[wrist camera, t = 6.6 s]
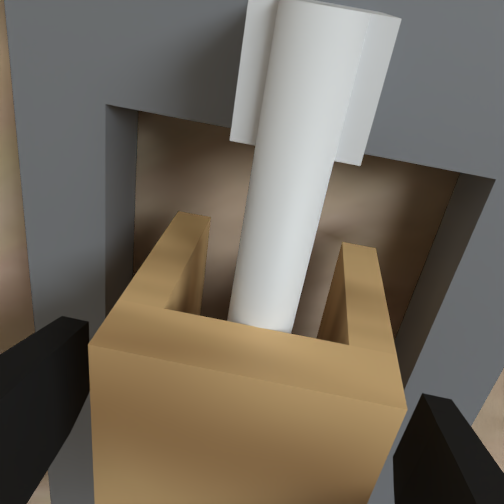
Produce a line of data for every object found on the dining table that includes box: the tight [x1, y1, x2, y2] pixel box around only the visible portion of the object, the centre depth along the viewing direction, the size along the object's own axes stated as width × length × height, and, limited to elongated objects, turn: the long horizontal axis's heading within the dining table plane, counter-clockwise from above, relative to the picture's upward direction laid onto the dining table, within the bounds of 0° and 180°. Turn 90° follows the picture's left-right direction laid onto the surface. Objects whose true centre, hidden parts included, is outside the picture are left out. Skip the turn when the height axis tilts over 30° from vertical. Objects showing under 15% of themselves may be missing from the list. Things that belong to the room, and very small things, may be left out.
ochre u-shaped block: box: [88, 211, 408, 504], centre depth 10 cm, size 5×5×5 cm
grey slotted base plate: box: [4, 0, 504, 504], centre depth 12 cm, size 20×12×5 cm, turn 171°
